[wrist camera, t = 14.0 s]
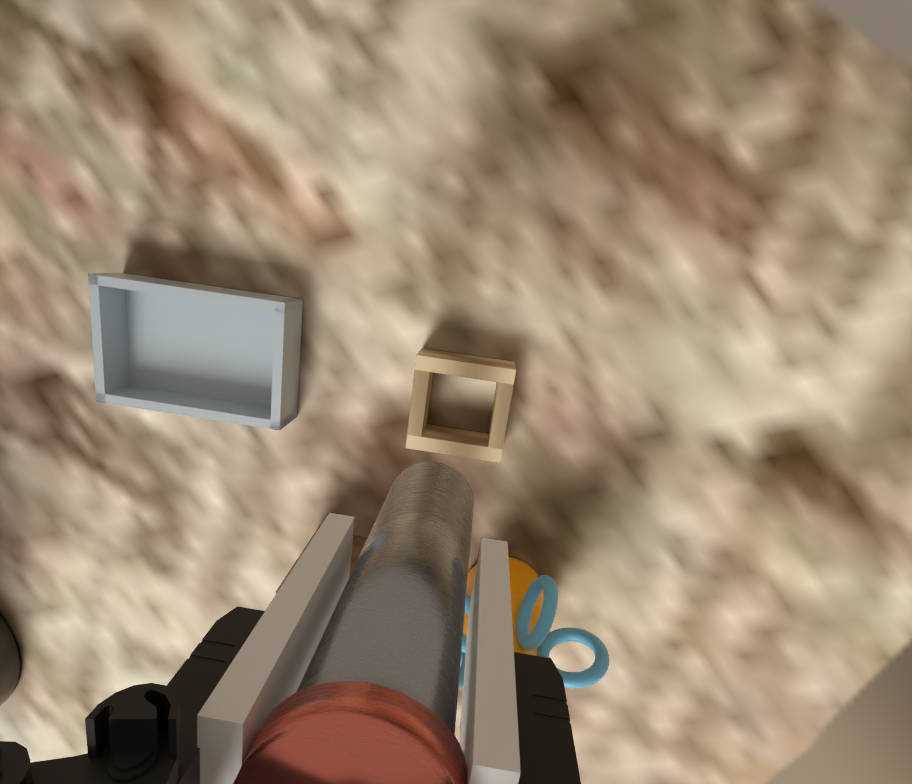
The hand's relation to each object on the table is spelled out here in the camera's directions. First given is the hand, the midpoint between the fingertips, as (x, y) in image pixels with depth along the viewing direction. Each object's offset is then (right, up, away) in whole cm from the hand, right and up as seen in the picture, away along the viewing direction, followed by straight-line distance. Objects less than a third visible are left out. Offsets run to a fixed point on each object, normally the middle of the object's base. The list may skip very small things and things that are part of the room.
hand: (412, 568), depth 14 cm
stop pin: (0, +1, +4) cm, 4 cm away
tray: (-15, +8, +18) cm, 25 cm away
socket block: (+2, +5, +18) cm, 18 cm away
